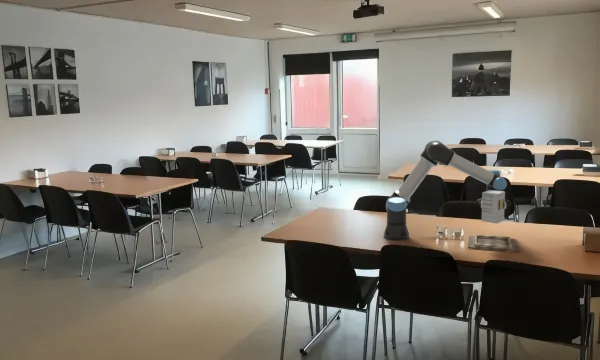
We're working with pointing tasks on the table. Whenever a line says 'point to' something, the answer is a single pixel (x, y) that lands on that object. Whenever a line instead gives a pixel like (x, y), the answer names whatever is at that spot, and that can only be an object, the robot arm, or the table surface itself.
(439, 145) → the robot arm
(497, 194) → the supplement box
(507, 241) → the grey brown square tray
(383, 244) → the table surface
